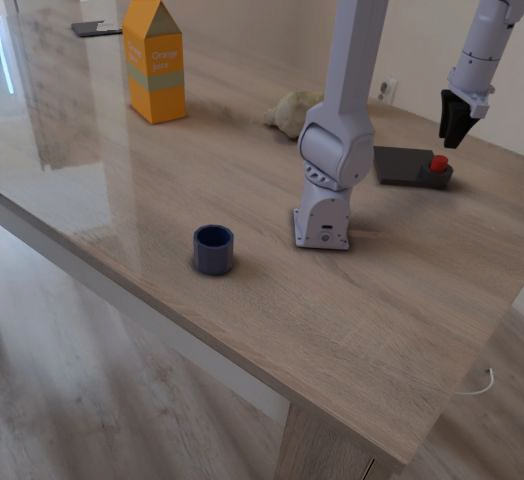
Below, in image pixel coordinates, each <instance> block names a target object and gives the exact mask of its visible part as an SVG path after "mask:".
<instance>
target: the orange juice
mask: <svg viewBox="0 0 524 480" xmlns="http://www.w3.org/2000/svg"><path fill="white" fill-rule="evenodd" d="M122 31H123V32H122V37H123V38H122V39H123V46H124V55H125V65H126V71H127V78H128V87H129V94H130V101H131V102H130V103H131V107H132V108H133V109H134V110H135V111H136V112H138V113H139V114H140V115H141V116H142V117H144V119H146V120H147V121H148V122H149V123H150V124H151V125H154V124H160V123H163V122H167V121H173V120H176V119H180V118H185V117H186V116H187V115H186V92H185V90H186V89H185V85H186V84H185V82H186V81H185V68H184V48H183V47H184V45H183V32H182V31H181V29H180V28H179V26H178V24H177V22H176V21H175V20H174V18H173V16H172V15H171V13H170V12H169V10H168V7H166V5H165V4H164V1H163V0H130V3H129V5H128V8H127V11H126V13H125V15H124V20H123V23H122Z"/></svg>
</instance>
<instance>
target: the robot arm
mask: <svg viewBox="0 0 524 480" xmlns="http://www.w3.org/2000/svg"><path fill="white" fill-rule="evenodd" d="M389 1H390V0H337V5H336V12H335V18H334V19H335V20H334V26H333V34H332V40H331V46H330V54H329V61H328V67H327V75H326V81H325V86H324V87H325V89H324V92H325V94H324V101H323V102H321V103H318V104H316V105H315V106H313V107H312V108H311V109H309V110H308V111H307V113H306V120H305V124H304V127H303V129H302V131H301V133H300V136H298V139H297V152H298V155H299V156H300V158H302V159H303V162H302V168H303V169H304V177H303V184H302V189H301V190H302V191H301V197H300V203H299V208H297V207H295V208H294V209H293V222H294V223H293V224H294V235H295V245H296V247H299V248H313V249H330V250H349V249H350V244H349V238H348V233H347V231H348V226H349V223H350V220H351V219H350V218H351V216H352V215H351V203H350V201H351V197H352V193H353V189H354V186H355V187H356V186H357V185H358V184H360V183H361V182H362V181H363V180H364V179H366V177H367V175H368V174H369V173H370V170H371V169H372V167H373V165H374V163H373V159H374V148H373V146H374V141H375V136H376V129H375V127H374V124H373V122H372V120H371V117H370V116H369V113H368V110H367V105H368V104H367V103H368V100H369V97H370V96H369V95H370V91H371V86H372V81H373V78H374V77H373V76H374V72H375V67H376V62H377V58H378V54H379V48H380V44H381V40H382V35H383V30H384V26H385V25H384V24H385V21H386V17H387V12H388V8H389V7H388V5H389ZM523 17H524V0H479V1H478V3H477V8H476V9H475V12H474V16H473V18H472V21H471V24H470V27H469V30H468V33H467V35H466V37H465V41H464V43H463V47H462V49H461V53H460V54H459V58H458V60H457V64H456V66H451V67H450V69H449V72H448V75H447V78H446V79H447V81H448V85H447V88H448V89H447V88H444V89H441V91H440V97H441V115H440V121H439V122H440V123H439V130H438V138H439V139H444V140H443V148H444V149H449V150H451V149H452V150H456V149H458V147H459V146H460V144H461V143H462V142H463V140H464V139H465V137H466V136H467V134H468V133H469V132H470V131H471V129H472V128H473V127H474V126H475V125H476V124H477V123H478V122H479V121H480V120H484V119H486V116H487V114H488V111H489V110H490V107H491V106H490V104H489V95H493V94H495V92H496V87H495V86H494V85H493V84H491V83H492V81H493V78H494V76H495V73H496V71H497V69H498V66H499V64H500V61H501V59H502V57H503V54H504V52H505V49H506V48H507V46H508V45H507V44H508V42H509V41H510V37H511V35H512V33H513V30H514V28H515V25H516V24H517V23H519V22H520V21H521V19H522V18H523Z"/></svg>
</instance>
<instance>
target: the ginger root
mask: <svg viewBox="0 0 524 480" xmlns="http://www.w3.org/2000/svg"><path fill="white" fill-rule="evenodd" d="M324 94H325V91H306V90H294V91H291V92H288V93H286V94H285V95H284V96H283V97H281V98H280V100H279V102H278V103H277V106H276V107H270V108H269V109H267V110H266V111H265V112H264V113H263V118H264V122H265V123H266V124H268V126H277V127H278V129H279V130H280V131H282V132H283V133H285V134H286V135H287V136H288V138H290V139H291V138H292V139H293V138H294V139H295V138H299V136H300V133H301V131H302V129H303V127H304V124H305V120H306V113H307V111H308V110H309V109H311V108H312V107H313V106H315V105H316V104H318V103H321V102H323V101H324Z"/></svg>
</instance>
